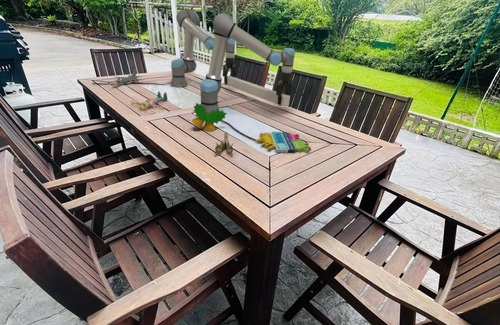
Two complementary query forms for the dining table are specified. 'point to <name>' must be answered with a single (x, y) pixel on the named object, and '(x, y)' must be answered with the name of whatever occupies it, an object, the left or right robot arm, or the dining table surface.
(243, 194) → the dining table surface
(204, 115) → the ornament
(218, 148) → the jawbone
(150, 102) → the toy
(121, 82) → the airplane
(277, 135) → the sign
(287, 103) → the post
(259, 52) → the right robot arm
